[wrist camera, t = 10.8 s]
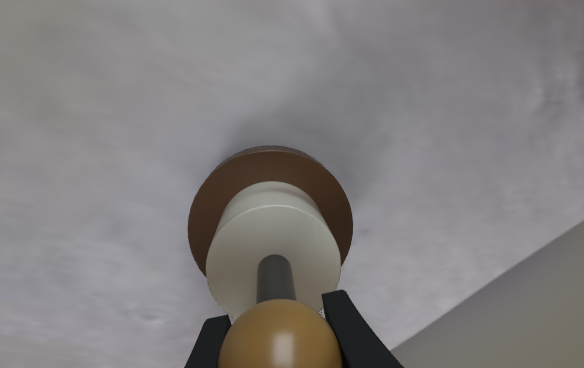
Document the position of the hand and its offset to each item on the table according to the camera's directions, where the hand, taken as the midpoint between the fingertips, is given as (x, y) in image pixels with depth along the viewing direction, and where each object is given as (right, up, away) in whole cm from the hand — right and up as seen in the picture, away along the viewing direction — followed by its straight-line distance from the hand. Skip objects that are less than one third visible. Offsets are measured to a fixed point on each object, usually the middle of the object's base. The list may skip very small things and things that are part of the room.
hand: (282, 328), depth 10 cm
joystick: (-1, +5, +1) cm, 5 cm away
